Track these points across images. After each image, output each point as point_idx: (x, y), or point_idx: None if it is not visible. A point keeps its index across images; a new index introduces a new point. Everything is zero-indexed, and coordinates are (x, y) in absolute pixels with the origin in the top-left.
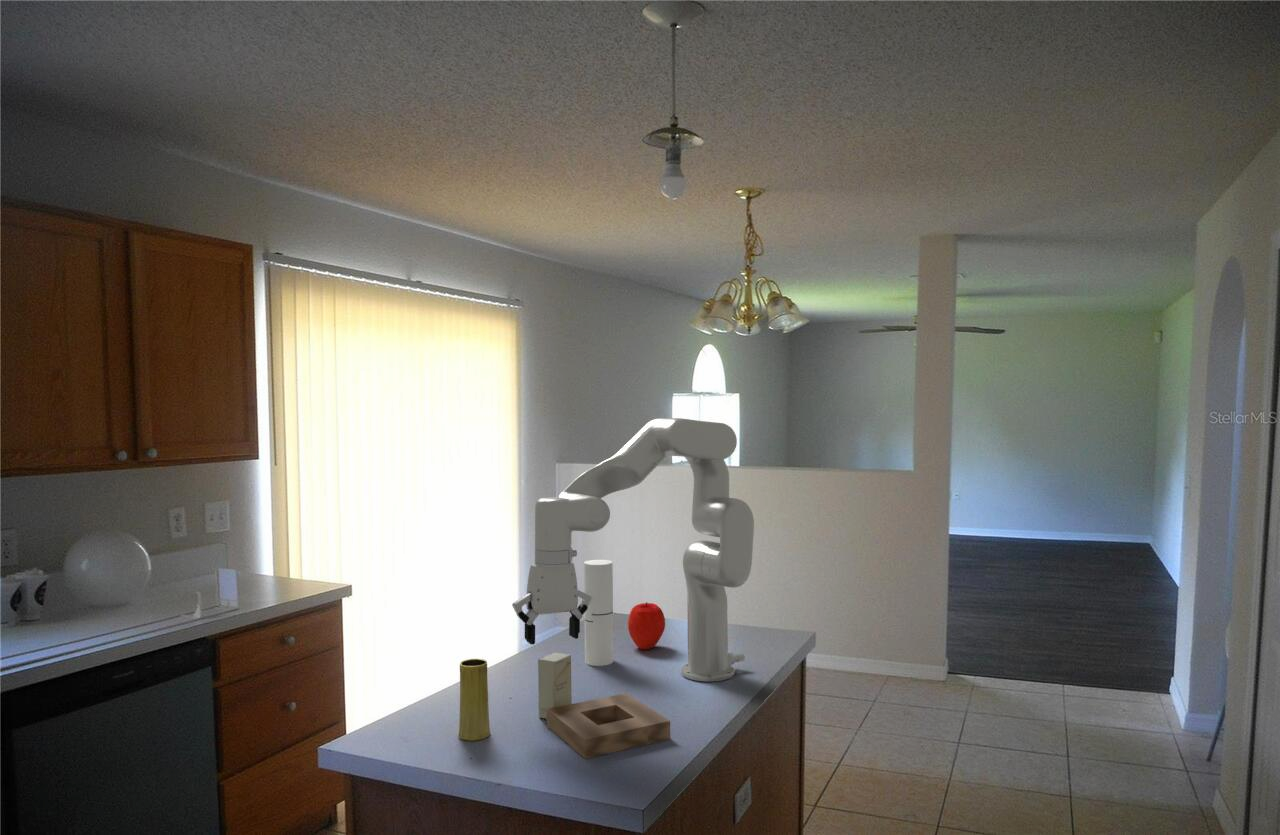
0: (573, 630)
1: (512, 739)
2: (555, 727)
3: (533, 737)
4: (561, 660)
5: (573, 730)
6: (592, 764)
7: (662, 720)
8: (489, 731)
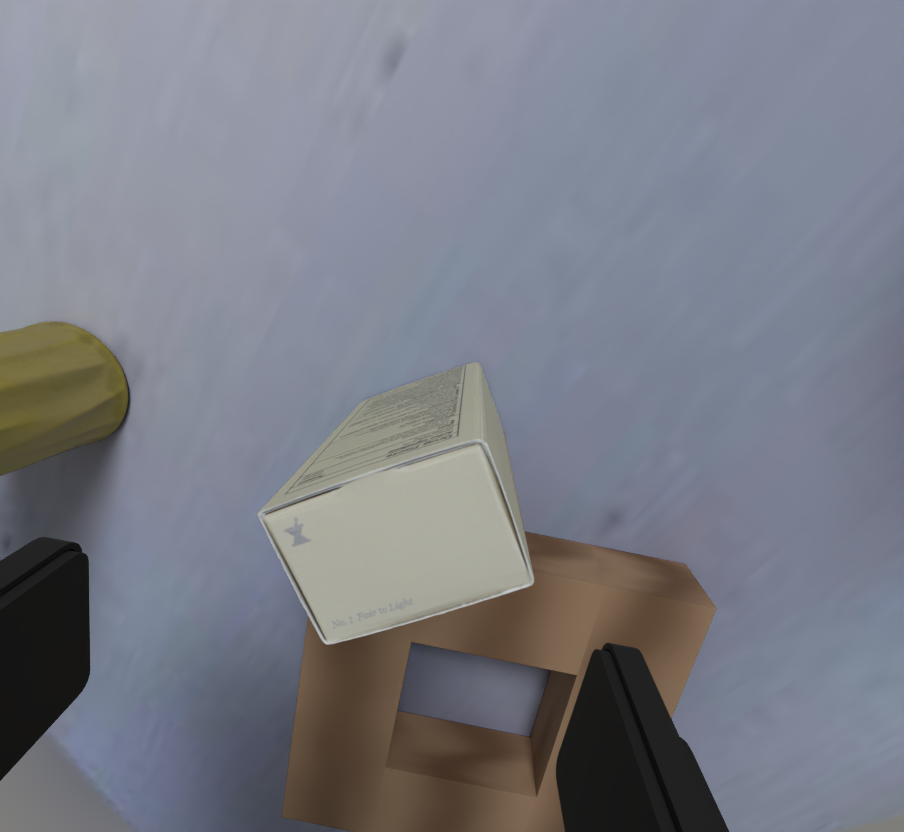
0: (583, 816)
1: (180, 509)
2: None
3: (250, 542)
4: (406, 619)
5: (291, 745)
6: None
7: None
8: (112, 425)
